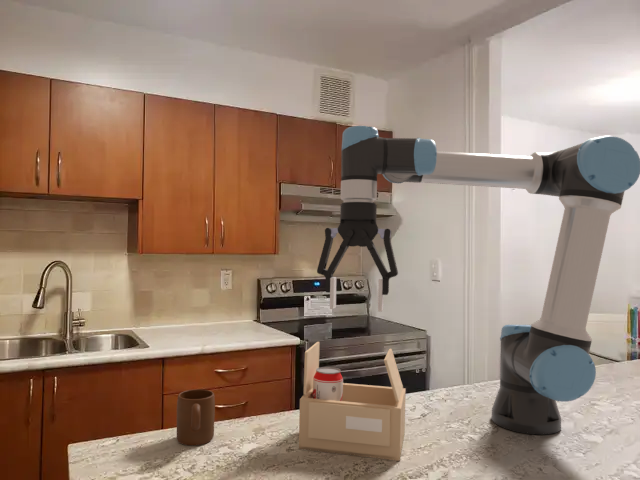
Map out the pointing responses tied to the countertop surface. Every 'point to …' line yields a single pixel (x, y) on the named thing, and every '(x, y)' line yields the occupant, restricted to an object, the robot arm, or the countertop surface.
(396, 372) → the flap near
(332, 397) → the beer can
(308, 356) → the flap far
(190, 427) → the mug
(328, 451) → the carton
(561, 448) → the countertop surface
